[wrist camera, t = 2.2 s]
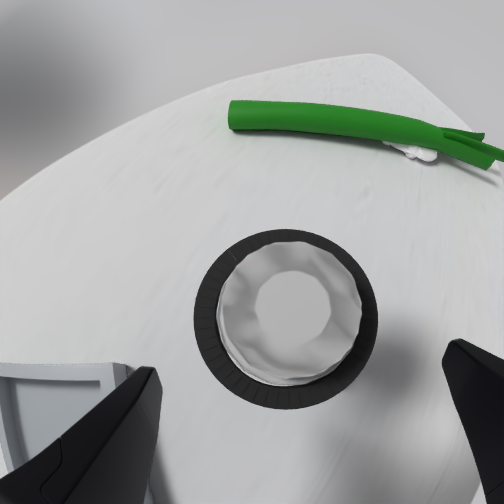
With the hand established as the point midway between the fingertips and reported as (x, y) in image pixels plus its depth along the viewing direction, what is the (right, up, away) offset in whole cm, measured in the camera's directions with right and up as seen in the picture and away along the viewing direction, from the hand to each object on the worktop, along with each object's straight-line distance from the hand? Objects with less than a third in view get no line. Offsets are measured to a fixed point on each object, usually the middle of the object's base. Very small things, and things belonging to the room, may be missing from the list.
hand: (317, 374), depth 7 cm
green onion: (+11, +13, +16) cm, 24 cm away
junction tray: (-14, -10, +6) cm, 18 cm away
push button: (0, -2, +9) cm, 9 cm away
